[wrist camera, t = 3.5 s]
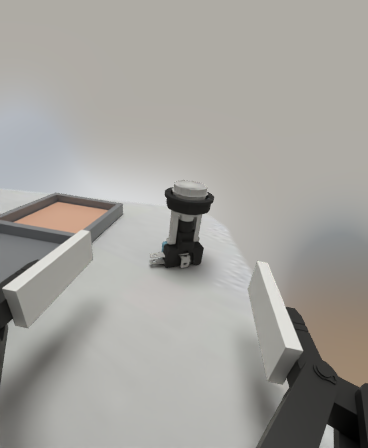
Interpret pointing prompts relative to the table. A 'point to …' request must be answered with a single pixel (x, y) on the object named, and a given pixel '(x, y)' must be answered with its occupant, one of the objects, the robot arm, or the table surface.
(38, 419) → the table surface
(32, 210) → the sorting tray
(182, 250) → the push button
